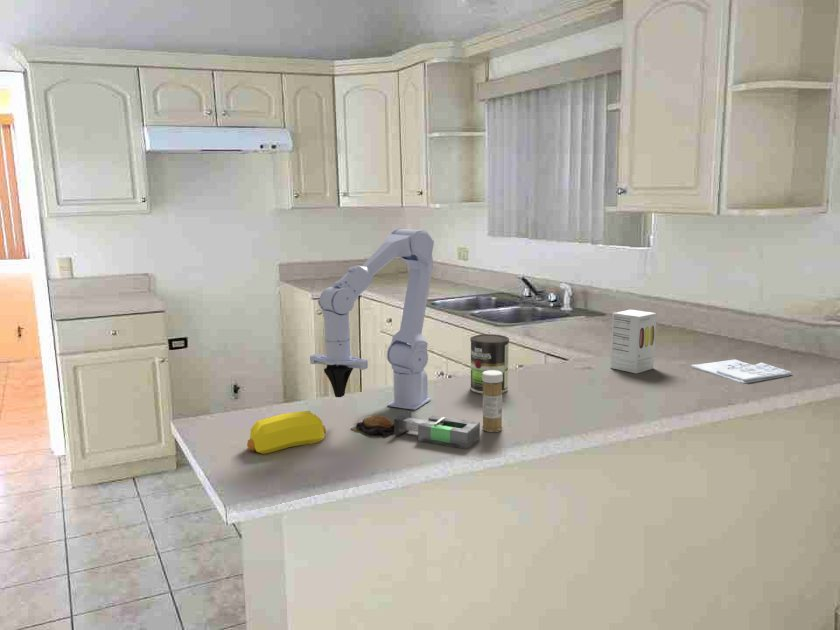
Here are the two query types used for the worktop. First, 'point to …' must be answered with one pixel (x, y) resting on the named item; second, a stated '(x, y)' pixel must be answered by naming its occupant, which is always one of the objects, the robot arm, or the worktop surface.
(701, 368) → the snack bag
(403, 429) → the grey angular piece
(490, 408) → the sprinkles bottle
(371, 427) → the bread roll
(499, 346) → the coffee can
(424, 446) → the worktop surface
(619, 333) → the supplement box
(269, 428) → the yellow banana
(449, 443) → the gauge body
